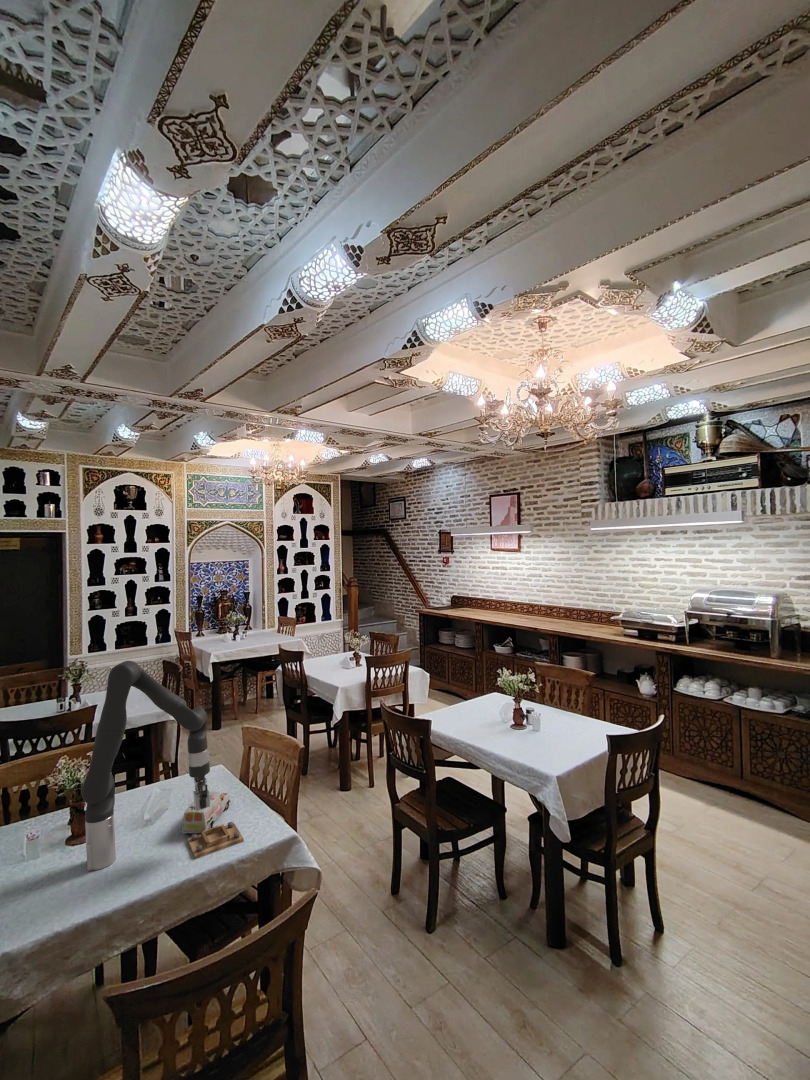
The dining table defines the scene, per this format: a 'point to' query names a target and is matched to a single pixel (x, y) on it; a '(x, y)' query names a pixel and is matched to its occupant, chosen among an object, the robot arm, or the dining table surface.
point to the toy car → (205, 813)
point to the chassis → (214, 839)
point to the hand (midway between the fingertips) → (202, 805)
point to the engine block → (197, 800)
